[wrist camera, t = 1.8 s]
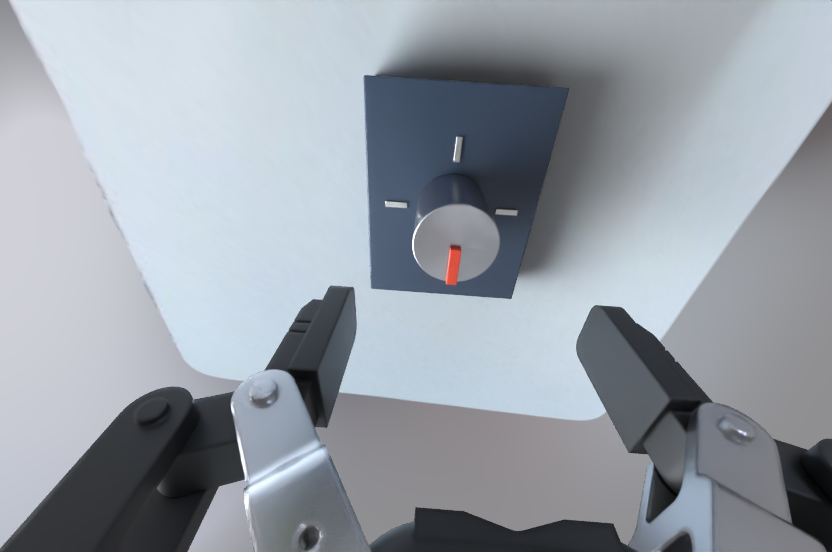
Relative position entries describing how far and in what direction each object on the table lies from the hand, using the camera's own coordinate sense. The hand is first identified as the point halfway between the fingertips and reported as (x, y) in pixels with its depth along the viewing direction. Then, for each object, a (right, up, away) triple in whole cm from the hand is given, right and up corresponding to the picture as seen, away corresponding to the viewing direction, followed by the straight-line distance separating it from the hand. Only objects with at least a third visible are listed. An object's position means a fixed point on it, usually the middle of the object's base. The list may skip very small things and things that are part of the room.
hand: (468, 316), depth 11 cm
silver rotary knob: (+1, +6, +10) cm, 11 cm away
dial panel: (+1, +7, +12) cm, 14 cm away
